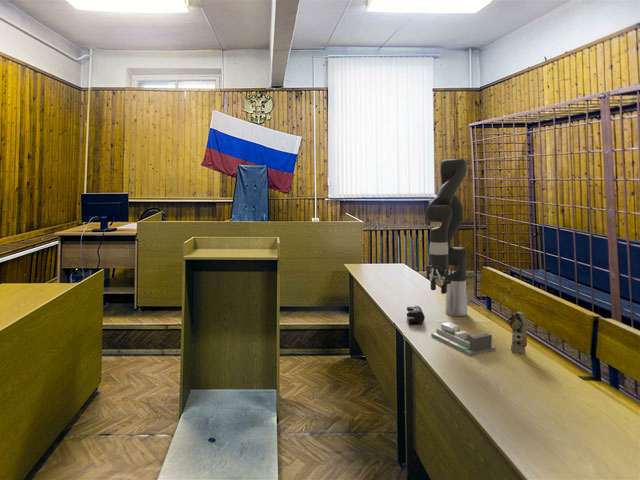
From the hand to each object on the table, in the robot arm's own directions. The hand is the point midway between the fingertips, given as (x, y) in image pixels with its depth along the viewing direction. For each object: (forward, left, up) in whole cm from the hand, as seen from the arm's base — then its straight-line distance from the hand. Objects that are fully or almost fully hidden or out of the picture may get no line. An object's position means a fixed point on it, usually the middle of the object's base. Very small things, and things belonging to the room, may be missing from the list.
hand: (438, 291), depth 157 cm
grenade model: (-11, +30, -18) cm, 37 cm away
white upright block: (0, +14, -16) cm, 21 cm away
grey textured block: (0, +8, -16) cm, 18 cm away
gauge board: (0, +14, -18) cm, 23 cm away
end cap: (+1, -15, -18) cm, 23 cm away
